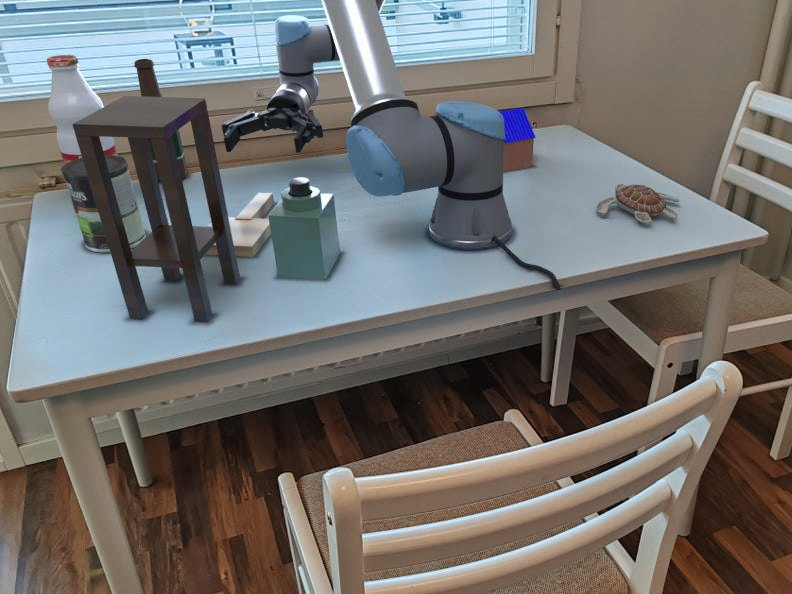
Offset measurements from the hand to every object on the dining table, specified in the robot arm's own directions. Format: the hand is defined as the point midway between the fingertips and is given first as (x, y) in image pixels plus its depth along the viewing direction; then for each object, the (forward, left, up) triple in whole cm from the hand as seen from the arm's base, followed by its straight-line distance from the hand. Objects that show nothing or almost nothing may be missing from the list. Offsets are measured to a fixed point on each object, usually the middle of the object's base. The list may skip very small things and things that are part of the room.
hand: (261, 145), depth 142 cm
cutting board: (-5, +11, -12) cm, 17 cm away
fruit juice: (+25, +21, -12) cm, 34 cm away
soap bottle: (-26, +15, -12) cm, 33 cm away
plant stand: (-19, +35, -12) cm, 41 cm away
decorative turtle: (-62, -39, -12) cm, 74 cm away
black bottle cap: (-26, +15, +1) cm, 30 cm away
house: (-22, -43, -12) cm, 50 cm away
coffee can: (+9, +29, -12) cm, 32 cm away
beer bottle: (+29, +3, -12) cm, 31 cm away
